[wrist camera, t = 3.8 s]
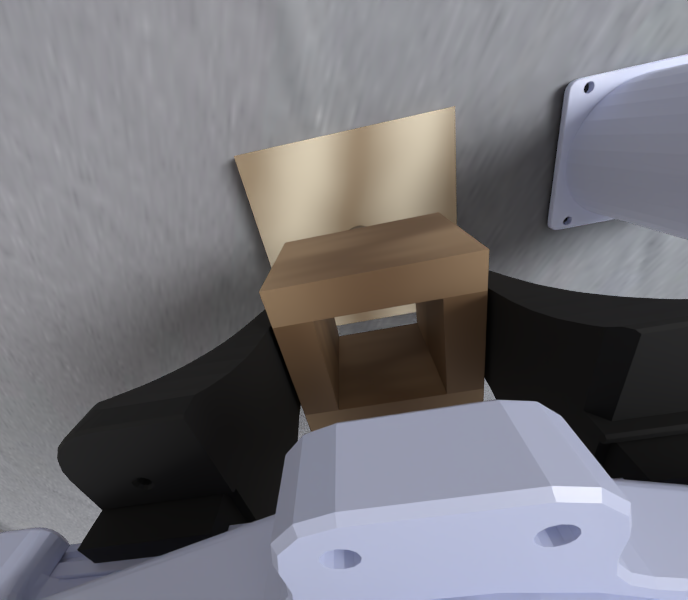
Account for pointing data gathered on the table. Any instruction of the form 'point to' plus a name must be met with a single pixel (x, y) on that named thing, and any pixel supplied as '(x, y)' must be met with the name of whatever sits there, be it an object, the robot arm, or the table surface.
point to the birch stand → (353, 183)
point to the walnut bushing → (374, 294)
